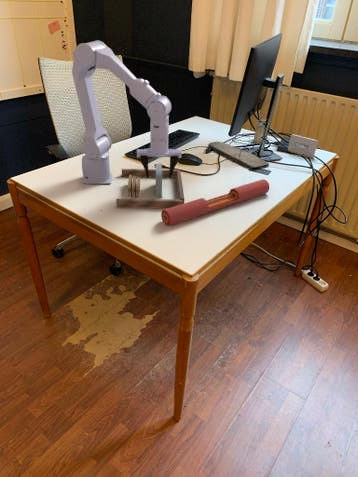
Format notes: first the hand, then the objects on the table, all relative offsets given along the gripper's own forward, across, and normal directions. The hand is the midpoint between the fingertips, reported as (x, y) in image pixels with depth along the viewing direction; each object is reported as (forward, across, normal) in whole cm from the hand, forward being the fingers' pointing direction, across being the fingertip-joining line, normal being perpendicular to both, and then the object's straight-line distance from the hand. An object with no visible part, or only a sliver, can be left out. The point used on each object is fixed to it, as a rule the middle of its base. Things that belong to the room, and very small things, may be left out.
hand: (159, 176), depth 121 cm
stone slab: (+6, +34, +33) cm, 48 cm away
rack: (+5, -3, 0) cm, 6 cm away
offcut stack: (+5, -9, 0) cm, 10 cm away
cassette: (+6, +64, +37) cm, 74 cm away
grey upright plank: (+5, 0, 0) cm, 5 cm away
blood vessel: (+6, +20, -11) cm, 23 cm away
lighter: (+6, +49, +53) cm, 72 cm away
